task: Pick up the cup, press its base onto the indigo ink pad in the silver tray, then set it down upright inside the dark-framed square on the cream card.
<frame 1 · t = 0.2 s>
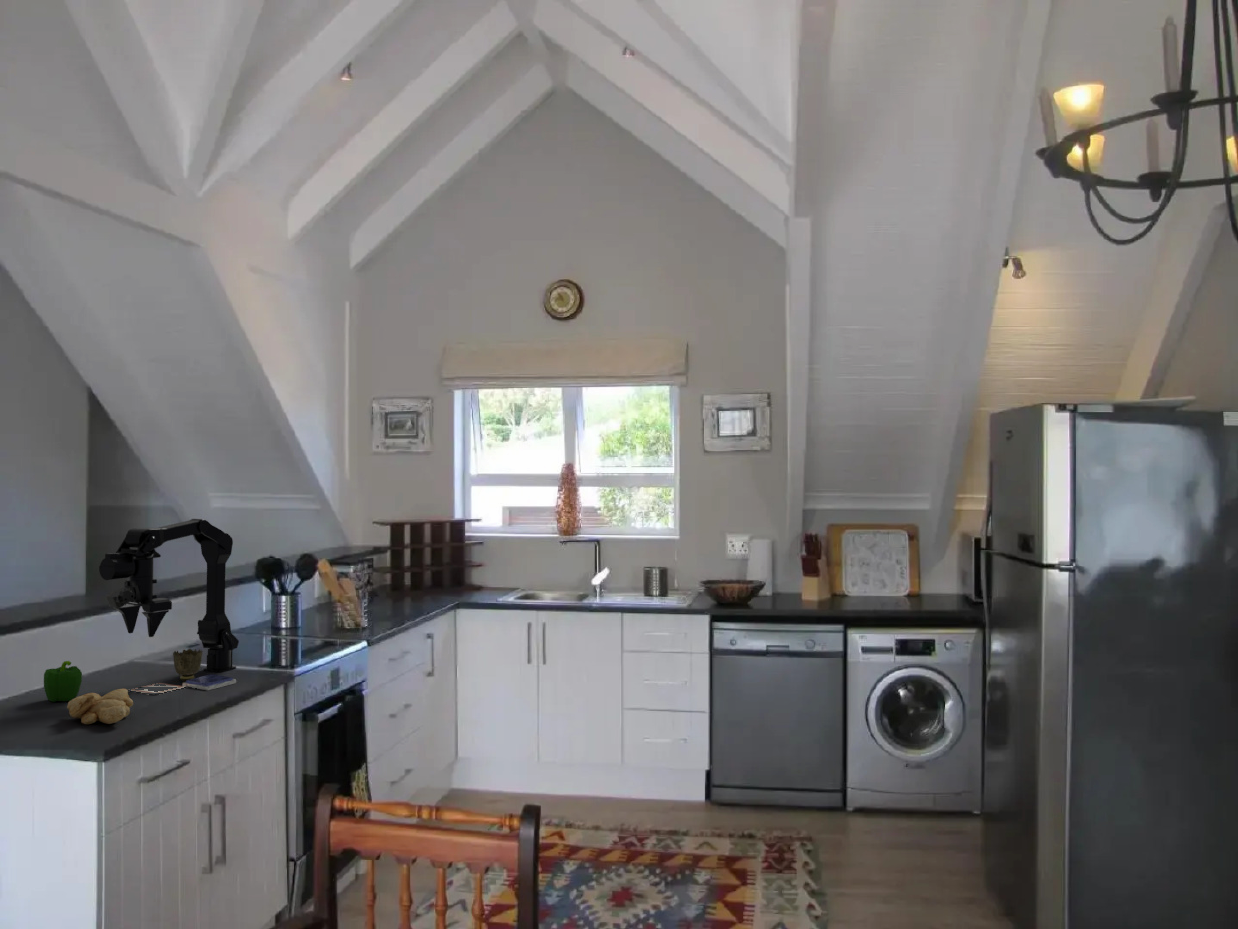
hand: (140, 635, 251), 14 cm above the worktop, tool pointing down, fingers open, 9 cm apart
bell pepper: (62, 701, 238), on the worktop
marked card: (157, 689, 251), on the worktop
cup: (187, 681, 262), on the worktop
ginger root: (98, 721, 221), on the worktop
ink pad: (209, 684, 257), on the worktop
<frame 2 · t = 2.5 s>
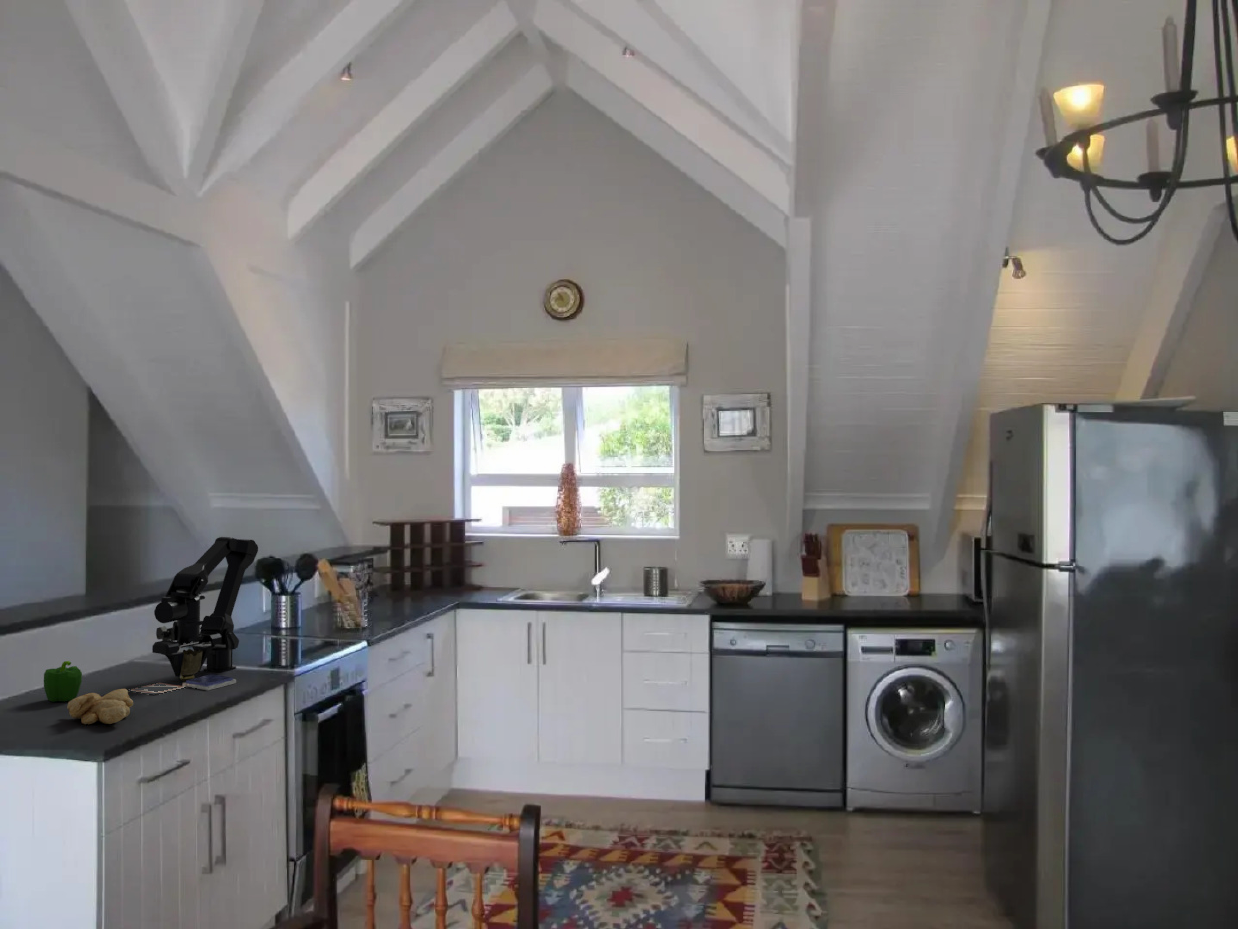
hand: (187, 674, 262), 2 cm above the worktop, tool pointing down, fingers closed on cup, 6 cm apart
cup: (187, 681, 262), on the worktop, touching gripper
everything else where it was.
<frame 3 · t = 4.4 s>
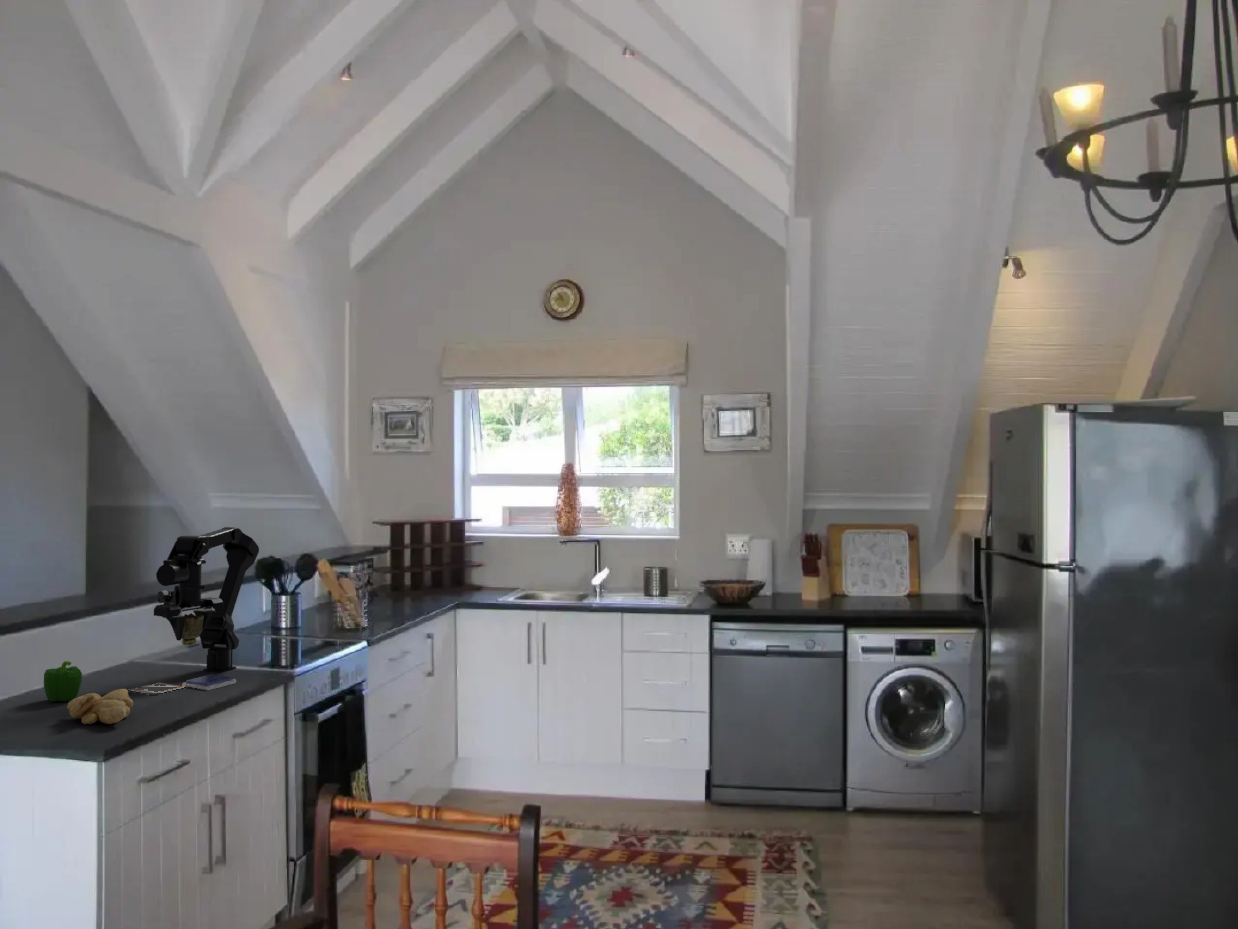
hand: (188, 638, 262), 12 cm above the worktop, tool pointing down, fingers closed on cup, 6 cm apart
cup: (188, 645, 262), point 10 cm above the worktop, touching gripper
everything else where it was.
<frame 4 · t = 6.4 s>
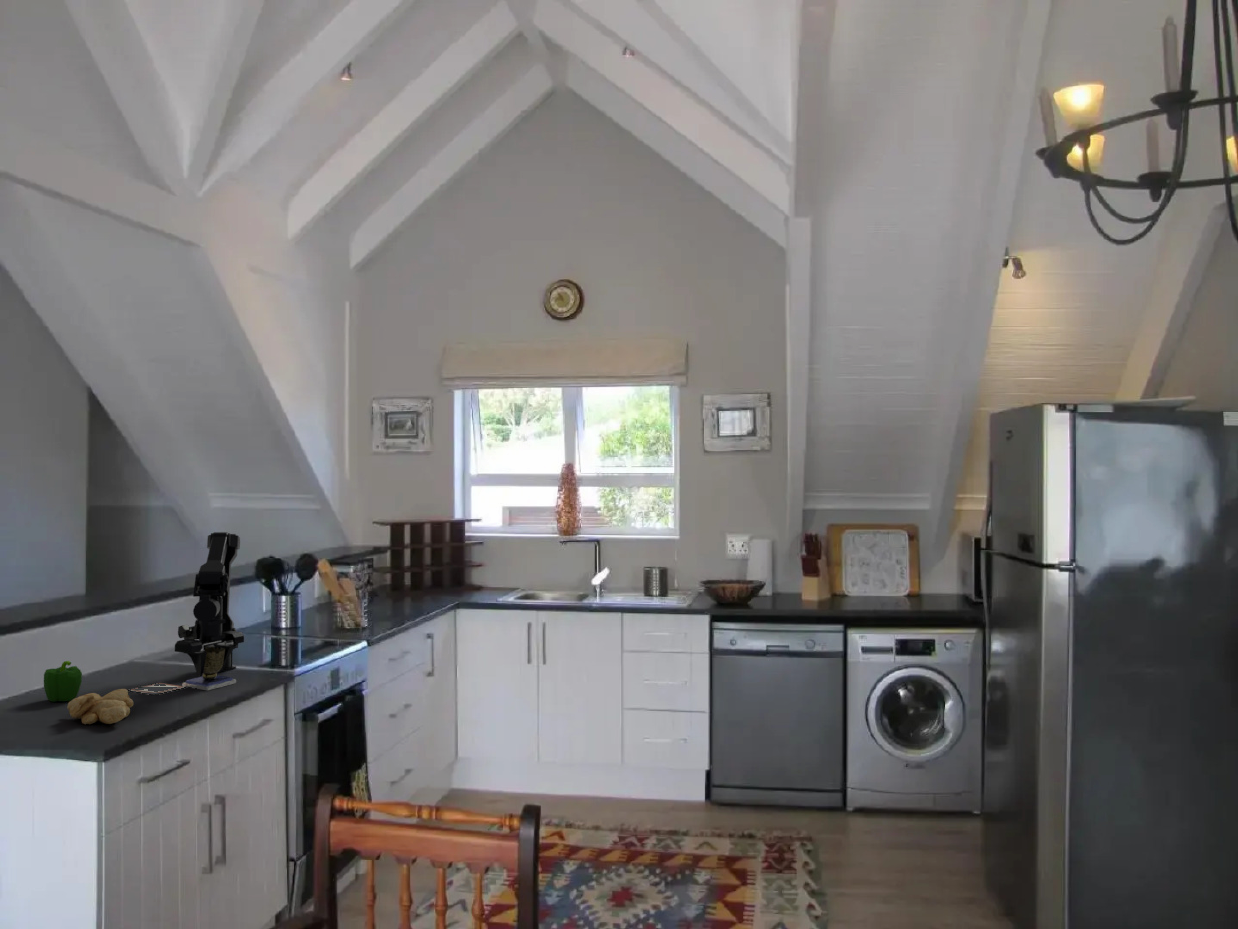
hand: (209, 673, 257), 3 cm above the worktop, tool pointing down, fingers closed on cup, 6 cm apart
cup: (209, 679, 257), point 1 cm above the worktop, touching gripper, ink pad
everything else where it was.
when the fingers open (3 cm above the worktop, at t = 11.3 s): cup drops 1 cm, resting on marked card.
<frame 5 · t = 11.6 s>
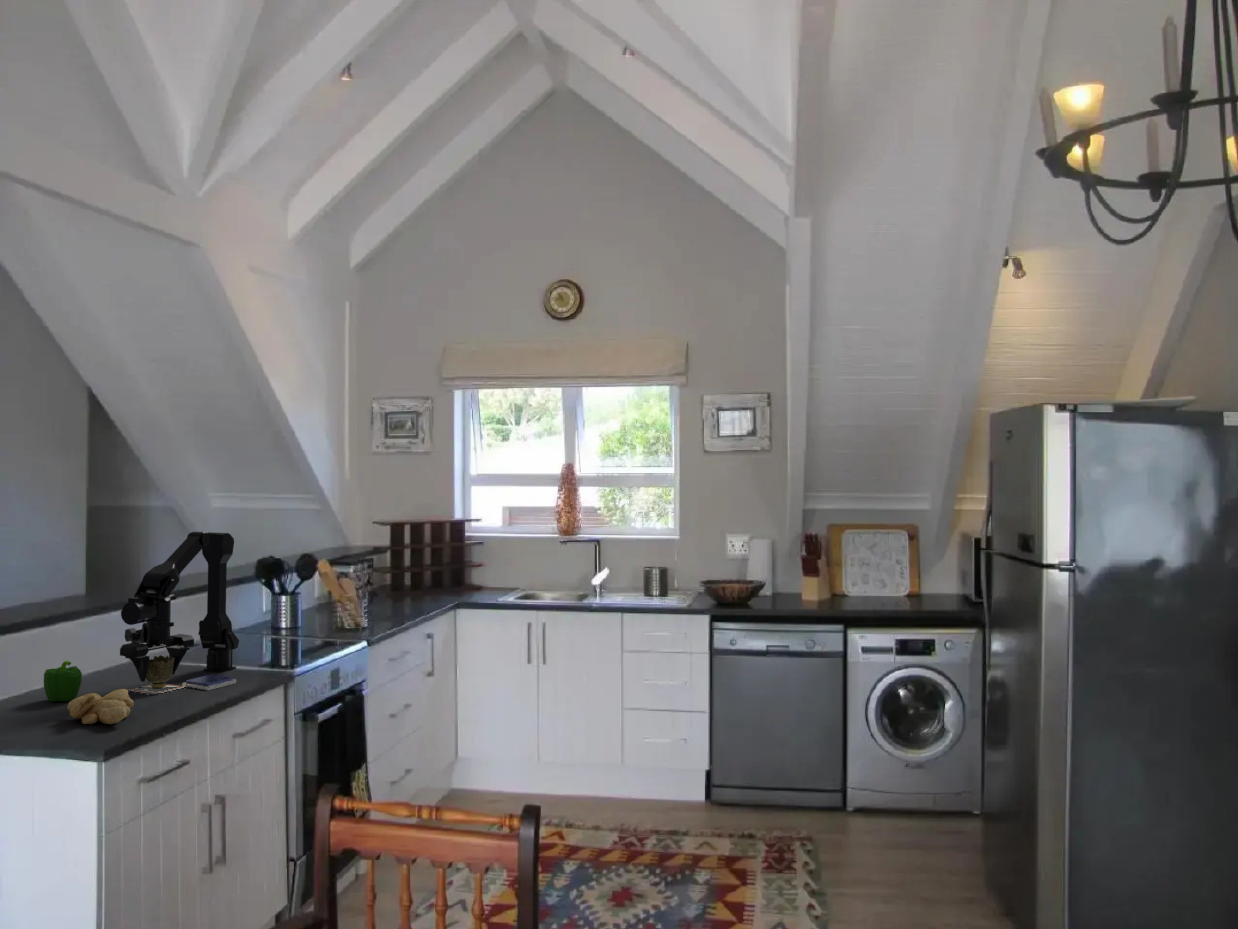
hand: (157, 678, 251), 3 cm above the worktop, tool pointing down, fingers open, 9 cm apart
cup: (158, 689, 251), resting on marked card
everything else where it was.
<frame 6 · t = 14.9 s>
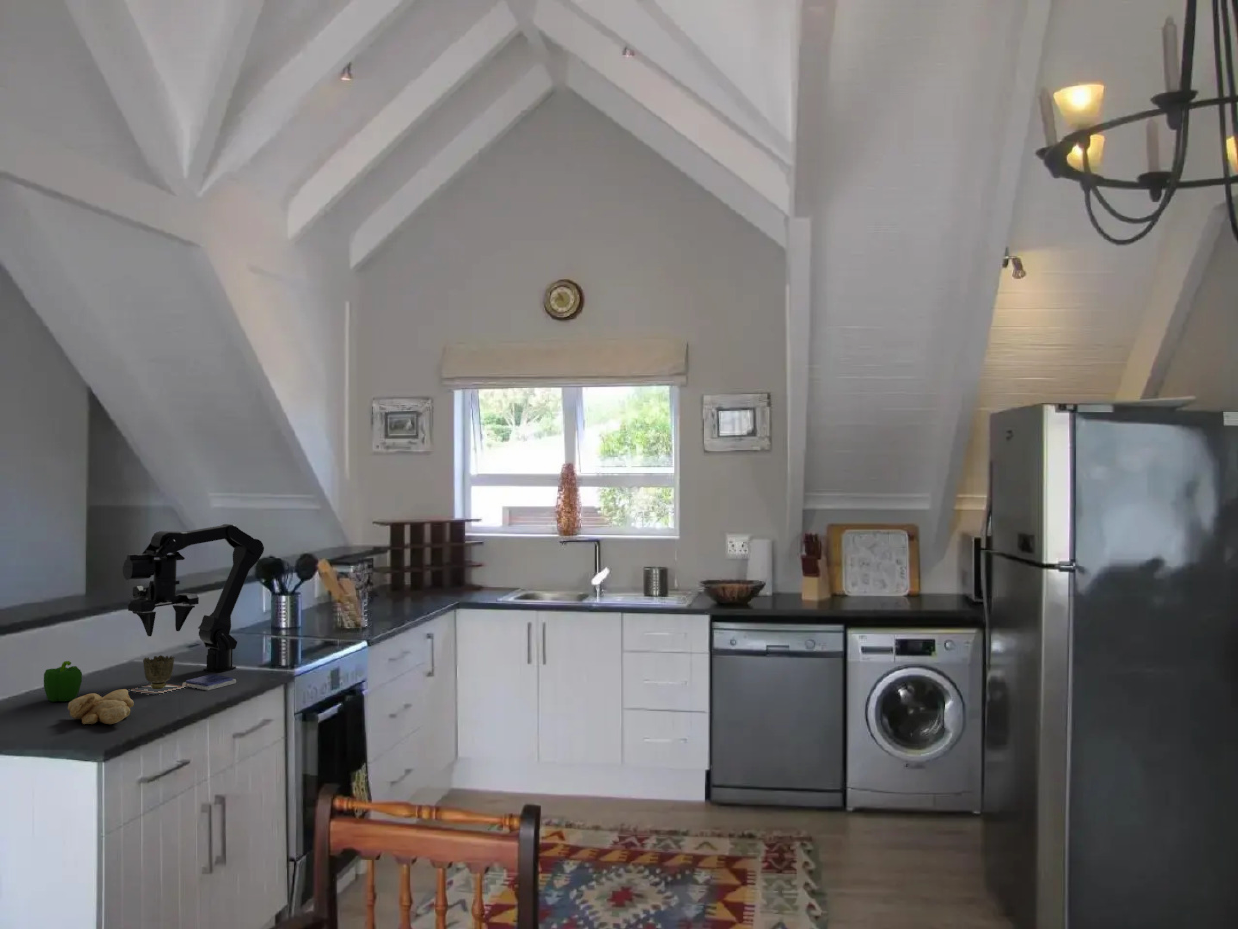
hand: (163, 633, 263), 13 cm above the worktop, tool pointing down, fingers open, 9 cm apart
nothing on the worktop moved.
at the end: cup 0.3 cm off-centre on the marked card, point 0.1 cm above the marked card's base; cup tilted 0°; the gripper is holding nothing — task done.
